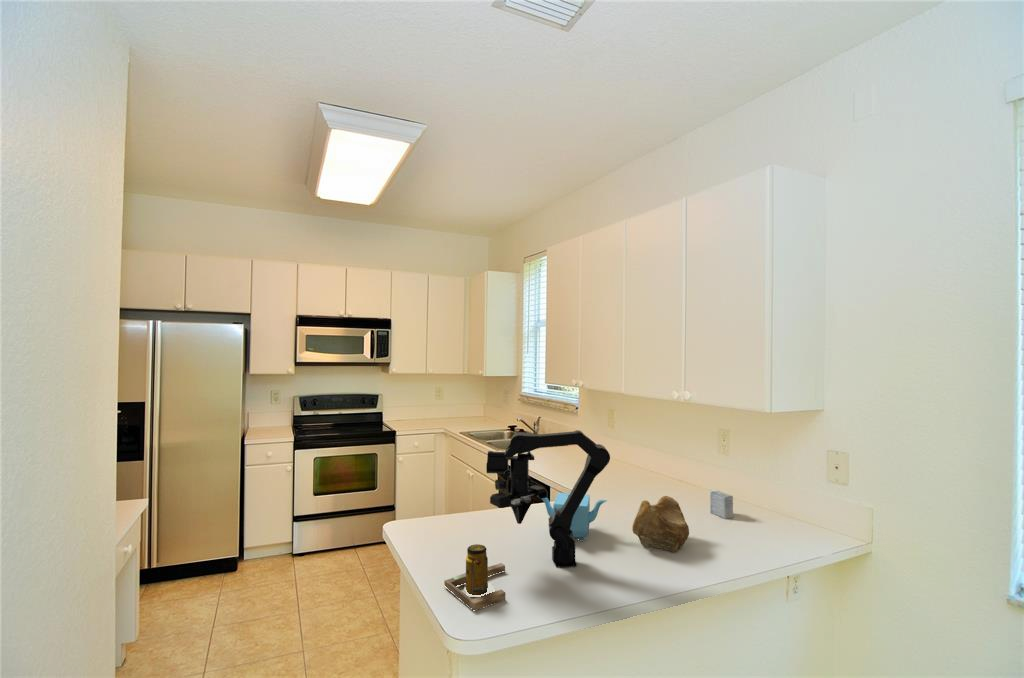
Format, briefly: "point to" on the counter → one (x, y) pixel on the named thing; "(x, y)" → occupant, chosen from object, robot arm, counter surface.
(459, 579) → the rail bay
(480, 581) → the condiment
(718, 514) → the medicine box
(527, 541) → the counter surface
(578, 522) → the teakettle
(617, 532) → the counter surface
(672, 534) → the rough brown rock
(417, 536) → the counter surface
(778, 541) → the counter surface
